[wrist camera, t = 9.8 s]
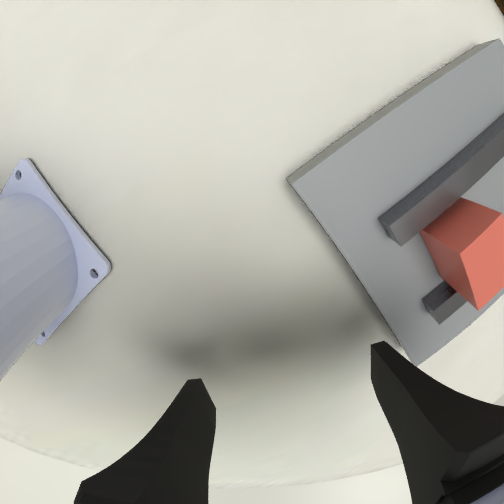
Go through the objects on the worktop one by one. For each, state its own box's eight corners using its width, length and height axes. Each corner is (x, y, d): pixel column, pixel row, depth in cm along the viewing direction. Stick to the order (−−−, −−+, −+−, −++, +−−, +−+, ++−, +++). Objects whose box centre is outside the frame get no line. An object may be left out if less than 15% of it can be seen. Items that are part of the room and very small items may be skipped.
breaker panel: (402, 347, 16) (422, 381, 13) (285, 178, 13) (295, 189, 10) (543, 214, 13) (574, 228, 10) (478, 44, 10) (513, 34, 7)
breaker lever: (440, 277, 12) (478, 311, 9) (416, 226, 11) (459, 253, 8) (474, 246, 11) (516, 273, 8) (454, 194, 11) (502, 213, 8)
